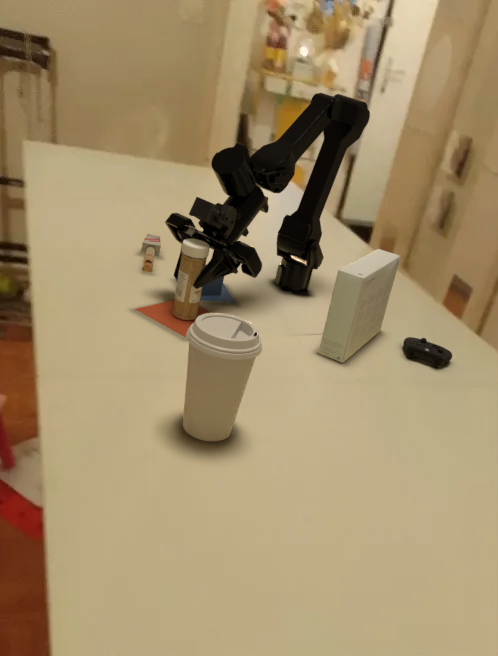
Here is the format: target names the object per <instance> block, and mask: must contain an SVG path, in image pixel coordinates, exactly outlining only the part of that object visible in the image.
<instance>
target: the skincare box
mask: <svg viewBox="0 0 498 656" xmlns="http://www.w3.org/2000/svg"><path fill="white" fill-rule="evenodd" d="M401 257H402V256H401V255H400V254H396V253H393V252H390V251H386V250H384V249H380V248H377V249H375V250H373V251H371V252H369V253H367V254H365V255H363V256H361V257H360V258H358V259H356V260H354V261H352V262H350V263H348V264H346V265H344V266H342V267H341V268H339V269H337V272H336V273H337V274H336V277H335V281H334V285H333V286H334V287H333V290H332V294H331V299H330V303H329V307H328V312H327V316H326V320H325V324H324V329H323V332H322V336H321V341H320V345H319V349H318V352H317V353H318V354H319V355H321V356H324V357H327V358H329V359H330V360H331V359H332V360H334V361H337V362H339V363H342V364H343V363H344V362H346V361H347V360H348V359H349V358H350V357H352V356H353V355H354V354H355V353H356V352H357V351H359V350H360V349H361V348H363V347H364V345H367V343H369V341H371V340H372V339H373V338H374V337H375V336H376V335H378V334H379V333H380V332H381V329H382V326H383V323H384V318H385V315H386V311H387V308H388V303H389V300H390V297H391V293H392V289H393V286H394V282H395V279H396V276H397V275H396V274H397V272H398V267H399V265H400V261H401Z"/></svg>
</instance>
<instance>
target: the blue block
mask: <svg viewBox="0 0 498 656" xmlns="http://www.w3.org/2000/svg"><path fill="white" fill-rule="evenodd" d="M206 265H207V264H205V267H206ZM224 280H225V276H223V277H221V278H218V279H216V280H214V281H212V282H210V283H208V284H206V285H204V286H202V291H201V295H221V291H222V285H223V284H224Z"/></svg>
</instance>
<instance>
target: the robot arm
mask: <svg viewBox="0 0 498 656" xmlns="http://www.w3.org/2000/svg"><path fill="white" fill-rule="evenodd" d="M370 117H371V112H370V110H369V107H368V104H367V103H366V102H365V101H362V100H360V99H357V98H353V97H350V96H347V95H343V94H340V93H337V94H335V95H330V94H326V93H323V92H319V93H317V92H316V93H314V94H313V96H312V98H311V100H310V103H309V104H308V105H307V107H305V109H304V110H302V112H301V113H300V114H299V116H297V118H296V119H295V120H294V121H293V122H292V123H291V125H290V126H289V127H288V128H287V129H286V130H285V131H284V132H283V133H282V134H281V136H280V137H279V138H278V139H277V140H275V141H274V142H271V143H267V144H264V145H262V146H261V147H259V149H257V150H256V151H255V152H254V153H252V154H251V155H250V152H249V149H248V146H247V145H245V144H242V143H240V142H236V143H235V144H234V146H231V147H230V146H229V147H225V148H223V149H221V150H220V151H217V152H216V153H215V154H214V155H213V157H212V159H211V163H210V164H211V168H212V171H213V172H214V175H215V177H216V179H217V181H218V183H219V186H220V187H221V189H222V191H223V192H224V194H225V195H226V196H228V197H227V198H226V200H225V201H224V202H223V203H220V202H217V203H213V202H210V201H209V200H207V199H203V198H201V197H199V196H196V197H195V200H194V202H193V203H192V205H191V208H190V211H189V212H188V216H191V217H194V218H196V219H197V220H199V221H198V222H197V224H198V226H199V227H200V228H201V229H202V231H201V230H199V229H198V228H197V227H196V225H195V223H194V221H193V220H192V219H191V218H189V217H188V216H185V215H183V214H181V213H179V212H172V213H171V214H170V215H169V216H168V217H167V219H166V220H165V221H164V224H165V225H166V227H167V228H168V229H169V231H170V233H171V234H172V236H173V237H174V239H175V241H177V242H178V243H179V244H181V246H180V252H179V255H178V259H177V263H176V266H175V267H174V268H175V269H174V272H173V277H174V279H175V280H176V279H178V273H179V268H180V262H181V256H182V254H181V252H182V251H181V249H182V243H183V240H185V239H197V240H201V241H204V242H206V243H207V244H209V246H210V248H209V249H211V250H213V251H212V256H211V259H210V260H209V261H208V263H206V264H205V265H206V267H205V268H204V269H203V271H202V272H201V273H200V275H199V276H198V278H197V279H196V281H195V283H194V284H193V286H194V288H196V289H198V288H200V287H202V286H204V285H206V284H208V283H210V282H212V281H214V280H216V279H218V278H221V277H223V276H224V277H226V276H229V275H231V274H235V275H237V274H238V273H239V270H238V268H239V267H240V268H241V272H242V274H245V275H246V276H249V277H251V278H254V279H256V278H257V277H258V276H259V274H260V273H261V271H262V268H263V262H262V260H261V258H260V255H259V254H258V251H257V249H256V247H254V246H252V245H250V244H248V243H245V242H243V241H241V240H239V239H240V238H241V237H242V236H243V237H245V238H247V236H248V235H249V234H250V231H249V229H248V227H249V226H250V225H251V223H252V222H253V221H254V219H255V218H256V217H257V216H258V214H259V213H260V212H262V213H265V214H267V213H268V212H269V197H268V196H266V195H265V193H264V191H263V190H265V191H268V192H270V193H273V194H281V193H282V192H283V191H284V190H286V188H287V187H288V186H289V184H290V182H291V181H292V180H293V178H294V176H295V172H296V164H297V162H298V161H299V160H300V159H301V157H302V156H303V155H304V154H305V152H307V150H308V149H309V148H310V147H311V146H312V144H313V143H314V142H315V141H316V140H317V139H318V138H319V136H320V135H321V134H322V133H323V141H322V144H321V146H320V149H319V152H318V154H317V157H316V159H315V162H314V165H313V167H312V169H311V173H310V175H309V178H308V180H307V184H306V186H305V188H304V191H303V193H302V196H301V199H300V202H299V205H298V208H297V209H296V210H295V211H294V212H292V213H291V214H290V215H289V214H285V216H284V217H283V219H282V223H281V226H280V227H279V229H278V231H277V236H276V256H278V257H281V262H280V263H278V265H277V269H276V275H275V278H273V281H274V283H275V284H276V286H278V288H279V289H280V290H281V292H284V293H291V294H296V295H305V296H306V295H307V296H310V295H311V291H310V290H309V286H310V283H311V279H312V275H313V271H314V270H319V268H320V267H321V265H322V263H323V261H324V258H325V257H324V255H323V251H322V248H321V245H320V242H321V239H322V235H323V231H322V224H321V218H322V214H323V211H324V209H325V206H326V204H327V201H328V199H329V196H330V193H331V190H332V188H333V186H334V183H335V181H336V178H337V176H338V173H339V170H340V167H341V165H342V162H343V160H344V158H345V155H346V153H347V150H348V149H349V148H350V147H351V146H352V145H353V144H355V143H356V142H357V141H358V140H359V139H360V138H361V136H362V134H363V132H364V130H365V128H366V127H367V126H368V124H369V122H370V119H371V118H370Z"/></svg>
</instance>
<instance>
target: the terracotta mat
mask: <svg viewBox="0 0 498 656" xmlns="http://www.w3.org/2000/svg"><path fill="white" fill-rule="evenodd" d="M174 303H175V299H171V300H168V301H163V302H158V303H154V304H150V305H145V306H142V307H137V308H134V310H136V312H139V313H141V314H143V315H144V316H146V317H148V318H150V319H151V320H153V321H155V322H157V323H159V324H161V325H162V326H164V327H166V328H168V329H169V330H171V331H173V332H174V333H176V334H178V335H180V336H182V337H184V338H186V333H187V331H188V329H189V327H190V326H191V325H192V324H193V323H194V322H195V320H196V319H195V320H182V319H179V318H177V317H175V316H174V315H173V313H172V311H173V309H174ZM206 313H211V312H210V311H209V310H206V309H204V308H203V307H201V306H199V307H198V316H200V315H202V314H206Z"/></svg>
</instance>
